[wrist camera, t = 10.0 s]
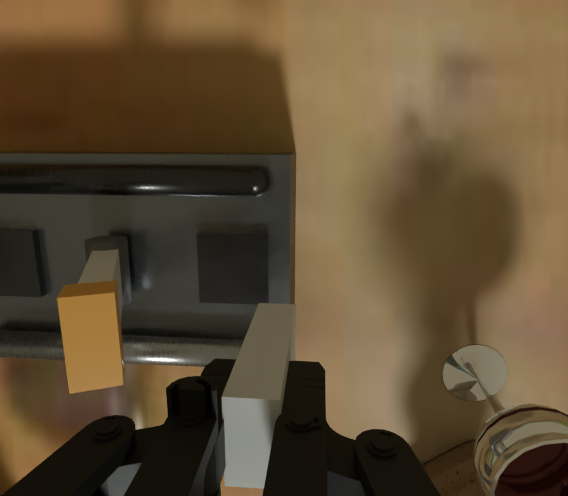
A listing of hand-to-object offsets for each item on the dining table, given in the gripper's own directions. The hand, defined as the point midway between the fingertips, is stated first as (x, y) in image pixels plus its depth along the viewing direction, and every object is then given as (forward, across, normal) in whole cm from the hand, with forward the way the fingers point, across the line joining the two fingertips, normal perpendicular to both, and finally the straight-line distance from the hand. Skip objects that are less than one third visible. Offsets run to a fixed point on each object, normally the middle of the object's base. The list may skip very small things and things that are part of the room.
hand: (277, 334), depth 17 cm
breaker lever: (+9, +12, 0) cm, 15 cm away
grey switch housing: (+16, +11, 0) cm, 19 cm away
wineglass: (+16, -14, +10) cm, 23 cm away
